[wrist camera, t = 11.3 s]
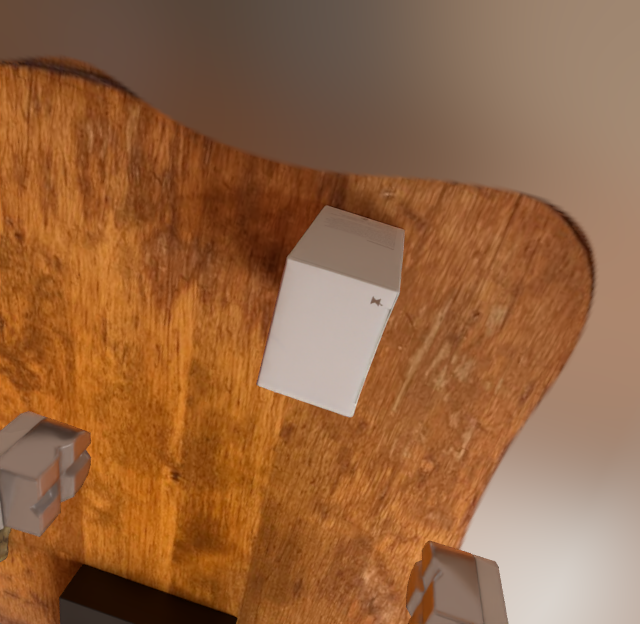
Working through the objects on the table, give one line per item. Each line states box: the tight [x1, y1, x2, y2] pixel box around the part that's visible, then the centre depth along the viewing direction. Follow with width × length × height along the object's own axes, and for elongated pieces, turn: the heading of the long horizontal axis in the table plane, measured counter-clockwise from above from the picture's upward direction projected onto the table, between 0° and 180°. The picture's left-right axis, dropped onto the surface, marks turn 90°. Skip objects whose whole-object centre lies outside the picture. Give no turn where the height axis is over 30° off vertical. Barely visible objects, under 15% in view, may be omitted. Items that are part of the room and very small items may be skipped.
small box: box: [256, 205, 405, 417], centre depth 21 cm, size 6×4×8 cm
